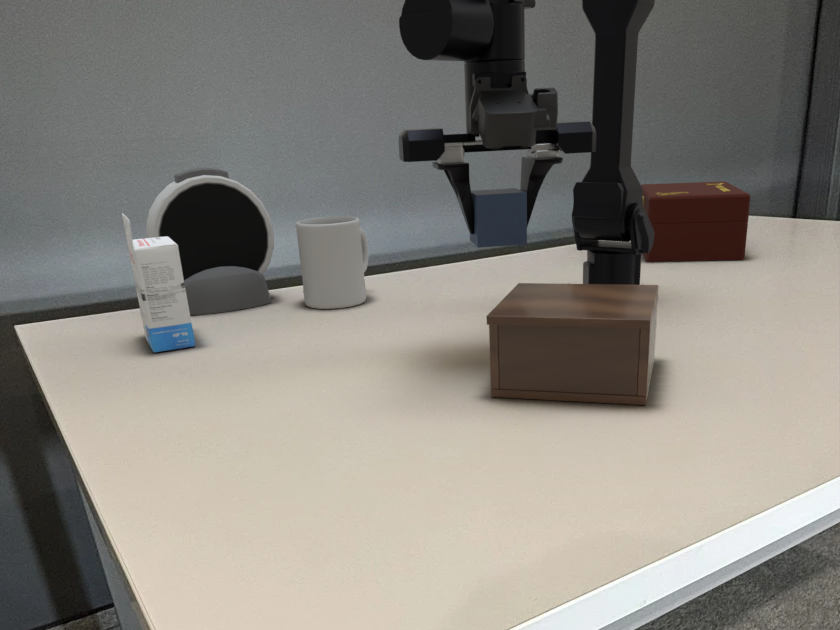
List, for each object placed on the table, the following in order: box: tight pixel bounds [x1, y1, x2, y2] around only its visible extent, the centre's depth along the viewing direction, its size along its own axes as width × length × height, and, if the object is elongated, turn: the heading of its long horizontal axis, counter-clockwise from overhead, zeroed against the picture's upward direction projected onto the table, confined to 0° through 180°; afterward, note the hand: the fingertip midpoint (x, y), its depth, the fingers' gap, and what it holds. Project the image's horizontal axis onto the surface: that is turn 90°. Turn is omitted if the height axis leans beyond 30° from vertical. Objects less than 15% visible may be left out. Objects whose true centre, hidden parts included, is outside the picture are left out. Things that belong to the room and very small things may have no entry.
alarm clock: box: [145, 166, 275, 316], centre depth 108 cm, size 16×10×18 cm, turn 117°
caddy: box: [488, 294, 659, 406], centre depth 74 cm, size 13×14×7 cm
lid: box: [486, 282, 659, 329], centre depth 72 cm, size 13×14×1 cm
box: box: [640, 180, 751, 263], centre depth 133 cm, size 21×16×10 cm
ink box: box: [121, 212, 196, 353], centre depth 91 cm, size 8×5×15 cm, turn 26°
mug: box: [295, 215, 370, 310], centre depth 109 cm, size 12×8×11 cm
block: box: [469, 187, 528, 249], centre depth 80 cm, size 5×5×5 cm
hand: (497, 232), depth 81 cm, fingers closed on block, 5 cm apart
